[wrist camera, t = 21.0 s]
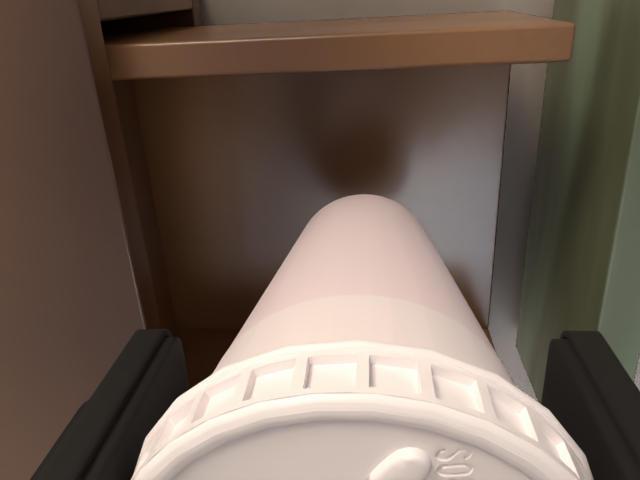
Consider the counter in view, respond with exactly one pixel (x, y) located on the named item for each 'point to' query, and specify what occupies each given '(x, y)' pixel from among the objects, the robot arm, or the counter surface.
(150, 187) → the drawer
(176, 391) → the robot arm
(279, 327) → the smoothie
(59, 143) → the cabinet
